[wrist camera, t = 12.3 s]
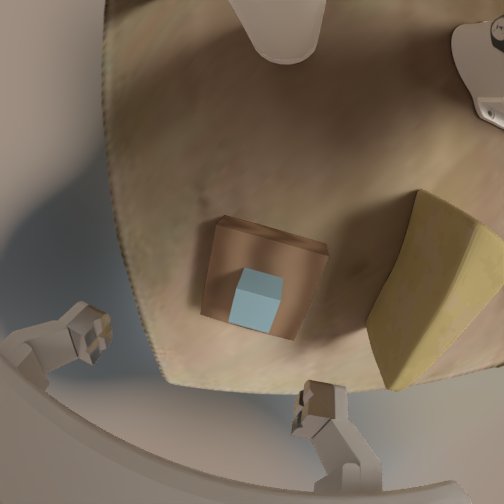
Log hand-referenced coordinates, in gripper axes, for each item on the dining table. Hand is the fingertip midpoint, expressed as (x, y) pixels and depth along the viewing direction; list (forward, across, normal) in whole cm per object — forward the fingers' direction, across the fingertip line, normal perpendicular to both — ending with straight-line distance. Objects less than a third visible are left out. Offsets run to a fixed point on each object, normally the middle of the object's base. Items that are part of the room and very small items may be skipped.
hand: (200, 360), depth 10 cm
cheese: (+28, -21, +5) cm, 35 cm away
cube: (+23, -1, +11) cm, 26 cm away
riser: (+27, -1, +12) cm, 29 cm away
